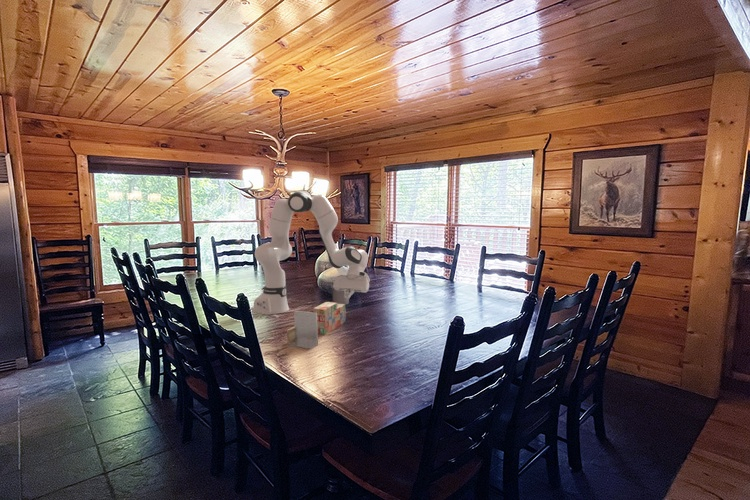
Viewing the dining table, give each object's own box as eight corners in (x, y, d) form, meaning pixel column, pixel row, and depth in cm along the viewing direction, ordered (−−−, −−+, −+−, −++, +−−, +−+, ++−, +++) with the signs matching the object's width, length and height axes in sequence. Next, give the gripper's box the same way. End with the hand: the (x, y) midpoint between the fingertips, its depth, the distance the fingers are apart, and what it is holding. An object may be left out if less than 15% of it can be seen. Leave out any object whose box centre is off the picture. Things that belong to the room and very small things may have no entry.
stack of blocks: (335, 320, 204) (334, 297, 203) (346, 321, 202) (345, 298, 200) (313, 333, 184) (313, 307, 183) (325, 334, 182) (324, 309, 181)
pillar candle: (332, 301, 242) (332, 277, 240) (348, 301, 243) (348, 277, 241) (332, 306, 232) (332, 281, 230) (349, 305, 233) (348, 280, 231)
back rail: (287, 343, 171) (287, 329, 171) (324, 322, 201) (324, 310, 200) (290, 343, 171) (289, 330, 170) (327, 322, 200) (327, 311, 199)
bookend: (288, 345, 168) (287, 314, 166) (296, 341, 174) (295, 310, 172) (310, 349, 164) (309, 316, 162) (318, 344, 169) (317, 312, 168)
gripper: (335, 271, 220) (327, 292, 212) (369, 273, 212) (362, 295, 204) (339, 278, 225) (332, 298, 217) (372, 280, 217) (365, 301, 209)
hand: (346, 297), depth 211 cm, fingers closed
